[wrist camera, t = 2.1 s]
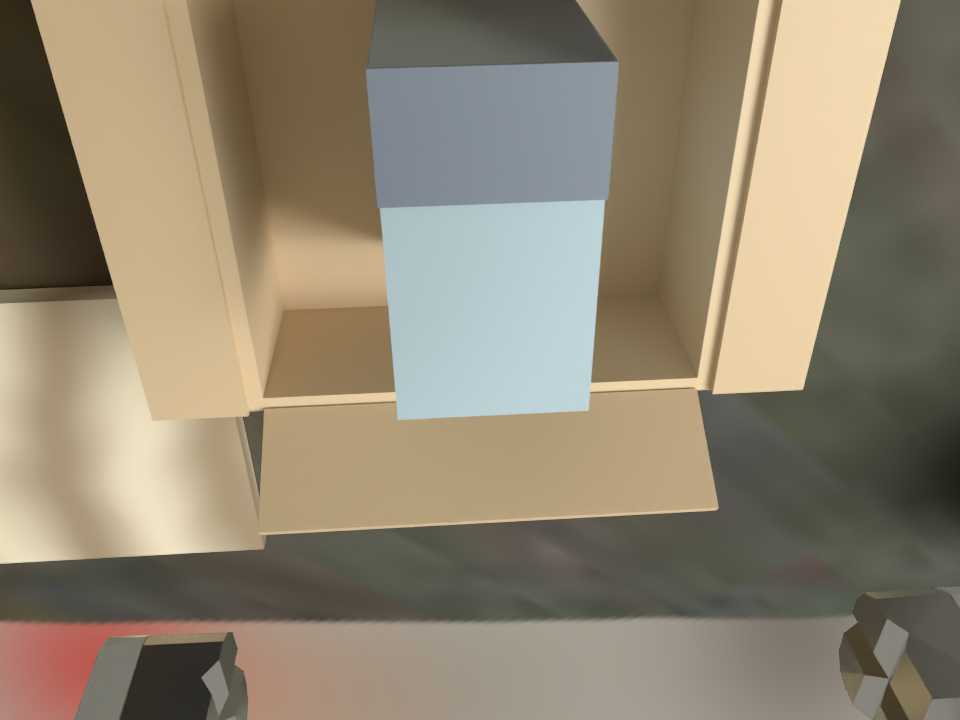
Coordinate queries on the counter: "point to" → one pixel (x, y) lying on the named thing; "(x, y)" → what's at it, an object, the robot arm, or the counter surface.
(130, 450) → the birch board
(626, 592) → the counter surface
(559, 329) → the slate-blue box
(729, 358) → the carton
